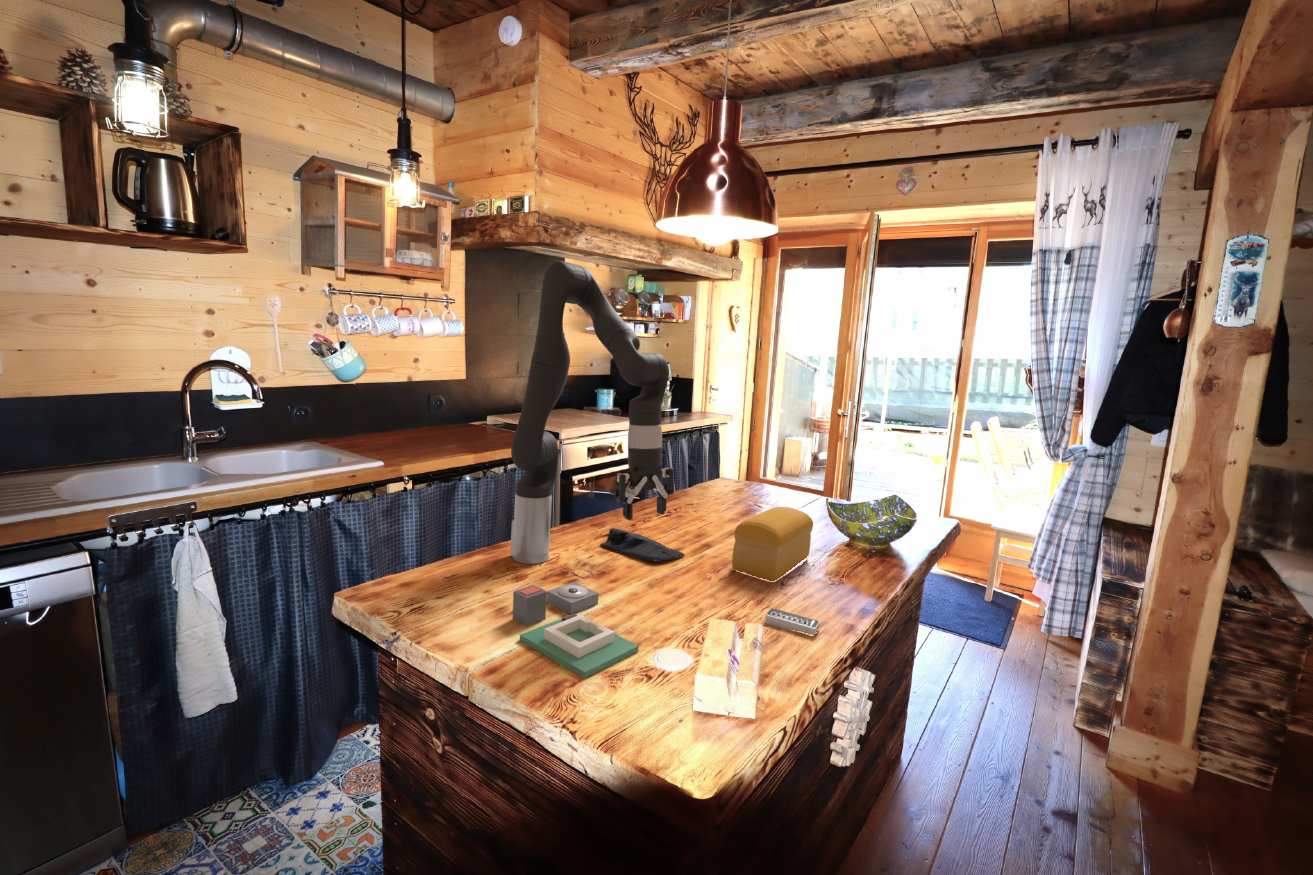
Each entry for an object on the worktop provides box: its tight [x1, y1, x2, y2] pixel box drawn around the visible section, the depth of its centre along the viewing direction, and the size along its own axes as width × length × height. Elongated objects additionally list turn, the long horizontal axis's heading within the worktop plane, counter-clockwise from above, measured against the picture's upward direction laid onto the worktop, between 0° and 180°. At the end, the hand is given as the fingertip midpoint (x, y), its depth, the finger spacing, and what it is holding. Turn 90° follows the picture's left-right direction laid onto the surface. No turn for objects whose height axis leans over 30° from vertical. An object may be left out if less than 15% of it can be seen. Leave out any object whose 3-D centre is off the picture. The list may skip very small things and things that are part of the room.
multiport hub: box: [764, 607, 821, 635], centre depth 135 cm, size 4×11×2 cm, turn 62°
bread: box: [731, 506, 814, 581], centre depth 170 cm, size 24×13×15 cm, turn 145°
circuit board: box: [519, 613, 640, 679], centre depth 119 cm, size 18×14×3 cm
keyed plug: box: [512, 584, 548, 627], centre depth 128 cm, size 4×6×6 cm
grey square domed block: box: [546, 581, 600, 615], centre depth 137 cm, size 8×8×3 cm
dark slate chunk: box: [599, 527, 685, 563], centre depth 174 cm, size 15×22×5 cm
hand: (644, 516), depth 139 cm, fingers open, 8 cm apart
